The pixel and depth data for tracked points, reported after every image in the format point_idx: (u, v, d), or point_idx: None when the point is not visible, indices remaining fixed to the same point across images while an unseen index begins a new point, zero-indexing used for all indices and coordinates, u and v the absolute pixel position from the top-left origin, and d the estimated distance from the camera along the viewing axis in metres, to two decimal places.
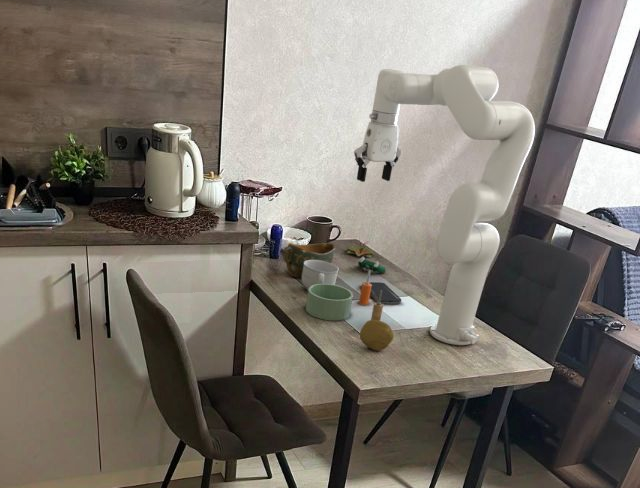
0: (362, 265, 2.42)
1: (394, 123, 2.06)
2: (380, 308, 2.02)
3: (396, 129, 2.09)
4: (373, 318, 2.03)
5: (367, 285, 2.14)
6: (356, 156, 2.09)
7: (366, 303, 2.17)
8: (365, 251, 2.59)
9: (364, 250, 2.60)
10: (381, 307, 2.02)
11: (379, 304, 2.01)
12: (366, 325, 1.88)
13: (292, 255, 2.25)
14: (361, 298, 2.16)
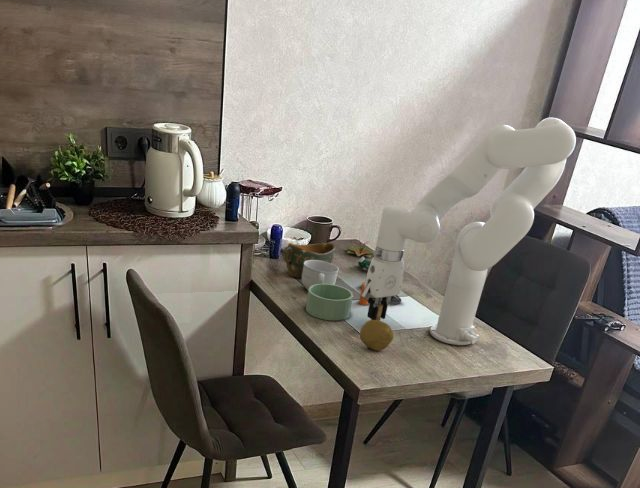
0: (362, 265, 2.42)
1: (399, 260, 1.93)
2: (380, 308, 2.02)
3: (401, 264, 1.95)
4: None
5: None
6: (366, 299, 1.98)
7: (366, 303, 2.17)
8: (365, 251, 2.59)
9: (364, 250, 2.60)
10: (381, 307, 2.02)
11: (379, 304, 2.01)
12: (366, 325, 1.88)
13: (292, 255, 2.25)
14: (361, 298, 2.16)
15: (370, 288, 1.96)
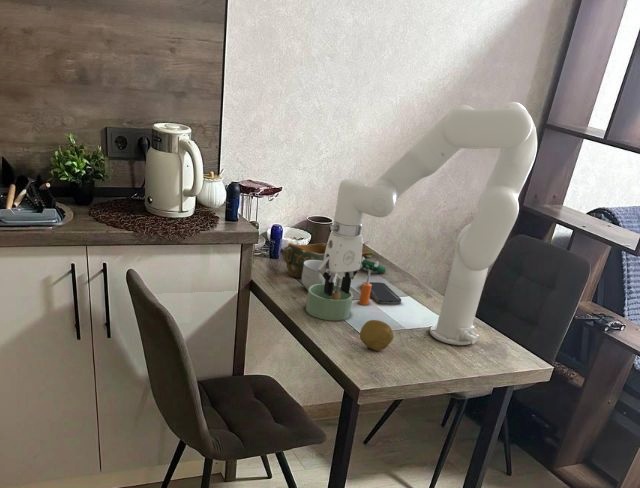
0: None
1: (357, 235, 1.92)
2: (338, 296, 2.03)
3: (360, 239, 1.95)
4: None
5: (367, 285, 2.14)
6: (321, 273, 1.97)
7: (366, 303, 2.17)
8: (365, 251, 2.59)
9: (364, 250, 2.60)
10: (339, 295, 2.03)
11: (337, 292, 2.03)
12: (366, 325, 1.88)
13: (292, 255, 2.25)
14: (361, 298, 2.16)
15: (328, 263, 1.96)
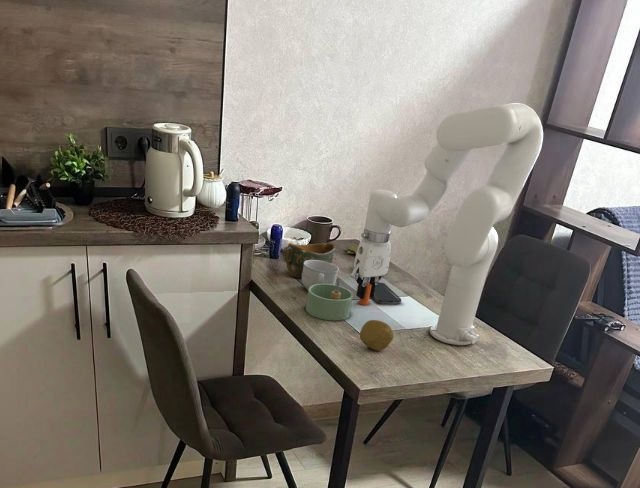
0: None
1: (386, 241, 2.05)
2: (338, 296, 2.03)
3: (388, 246, 2.08)
4: None
5: (367, 285, 2.14)
6: None
7: (366, 303, 2.17)
8: None
9: None
10: (339, 295, 2.03)
11: (337, 292, 2.03)
12: (366, 325, 1.88)
13: (292, 255, 2.25)
14: None
15: (359, 268, 2.09)
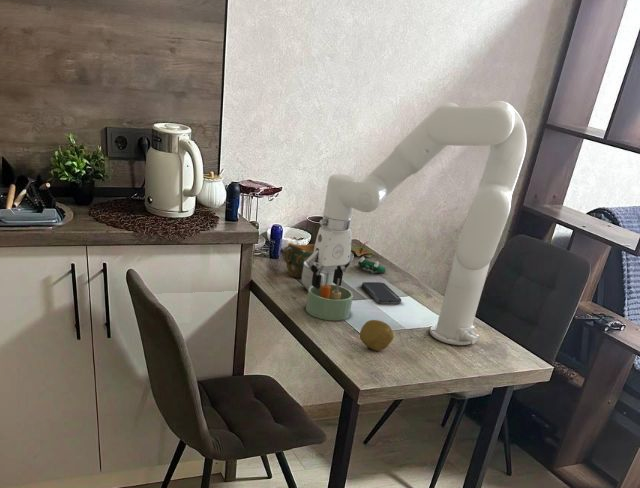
0: (362, 265, 2.42)
1: (346, 229, 1.96)
2: (338, 296, 2.03)
3: (349, 234, 1.99)
4: None
5: (326, 287, 2.06)
6: (309, 265, 2.00)
7: None
8: (365, 251, 2.59)
9: (364, 250, 2.60)
10: (339, 295, 2.03)
11: (337, 292, 2.03)
12: (366, 325, 1.88)
13: (292, 255, 2.25)
14: None
15: (318, 257, 1.99)
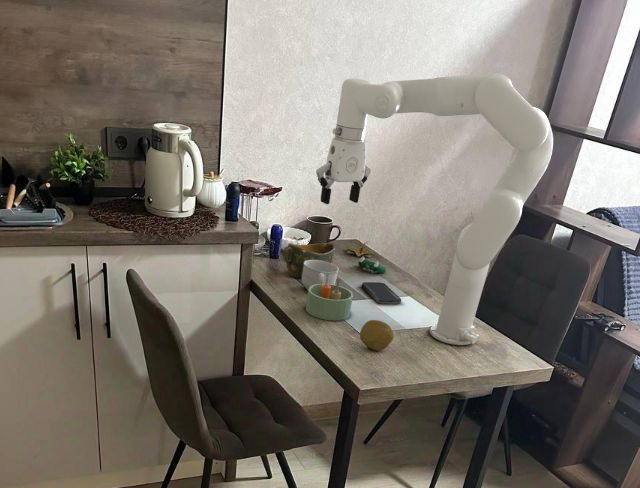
0: (362, 265, 2.42)
1: (361, 139, 1.83)
2: (338, 296, 2.03)
3: (363, 146, 1.86)
4: None
5: (326, 287, 2.06)
6: (318, 176, 1.86)
7: None
8: (365, 251, 2.59)
9: (364, 250, 2.60)
10: (339, 295, 2.03)
11: (337, 292, 2.03)
12: (366, 325, 1.88)
13: (292, 255, 2.25)
14: None
15: (330, 171, 1.86)
